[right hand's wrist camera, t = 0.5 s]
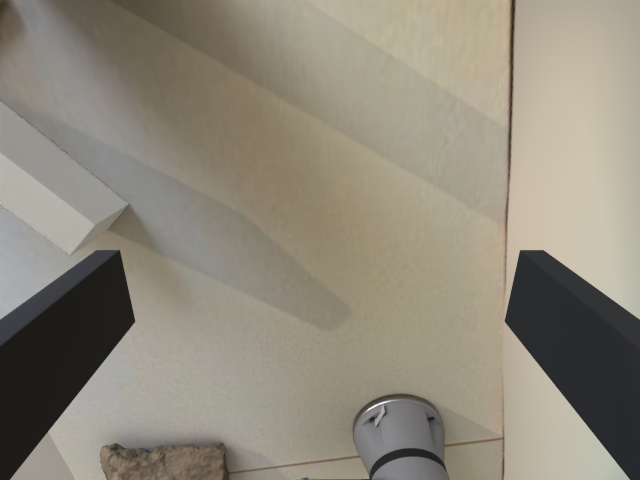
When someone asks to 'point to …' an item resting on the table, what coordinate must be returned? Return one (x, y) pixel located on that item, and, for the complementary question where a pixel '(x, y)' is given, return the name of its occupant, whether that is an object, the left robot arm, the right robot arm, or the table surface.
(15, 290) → the table surface
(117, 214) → the bar
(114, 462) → the stone
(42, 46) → the table surface
